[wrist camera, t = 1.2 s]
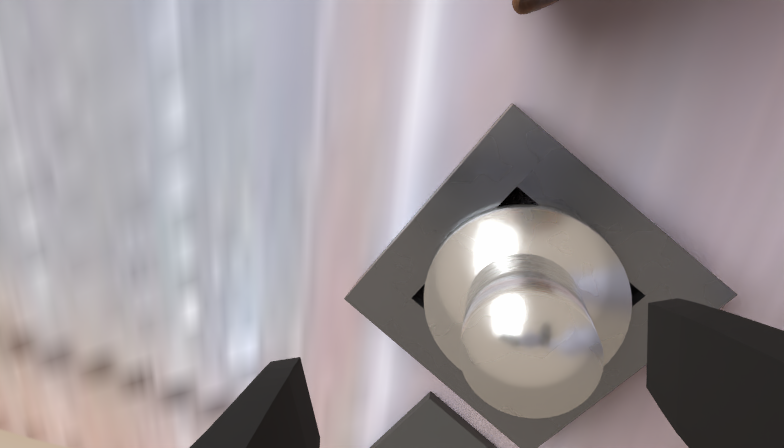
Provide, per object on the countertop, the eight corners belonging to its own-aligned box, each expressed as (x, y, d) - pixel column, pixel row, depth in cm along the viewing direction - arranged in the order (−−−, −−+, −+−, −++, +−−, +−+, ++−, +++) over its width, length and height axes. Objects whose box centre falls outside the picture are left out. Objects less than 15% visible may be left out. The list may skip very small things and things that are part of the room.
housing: (711, 273, 17) (737, 294, 15) (525, 422, 21) (528, 454, 19) (511, 103, 17) (513, 104, 15) (358, 280, 21) (344, 298, 19)
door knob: (655, 276, 18) (731, 363, 12) (523, 386, 20) (534, 502, 14) (514, 155, 18) (522, 184, 12) (399, 281, 20) (360, 355, 14)
